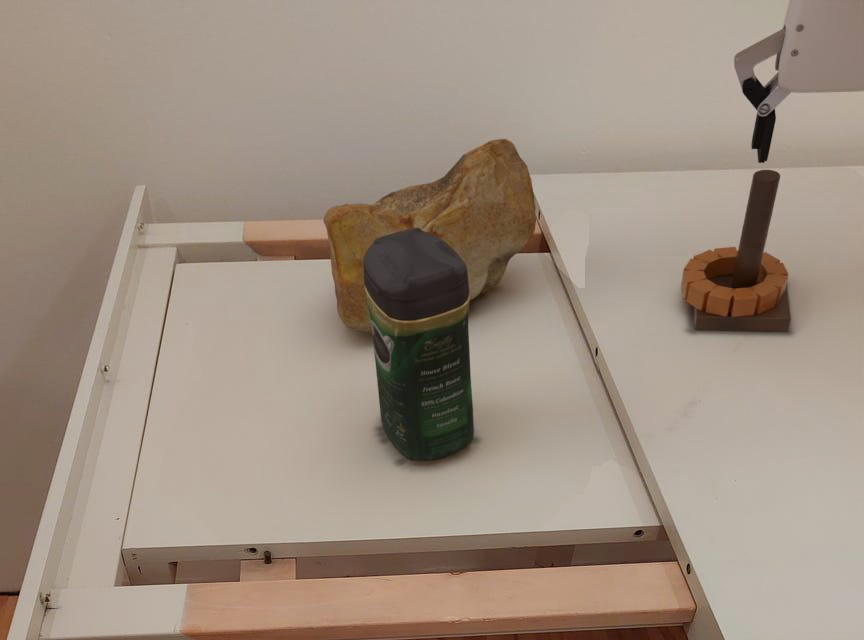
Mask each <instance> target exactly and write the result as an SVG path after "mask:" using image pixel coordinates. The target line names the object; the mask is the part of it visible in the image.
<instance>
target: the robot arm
mask: <svg viewBox="0 0 864 640" xmlns="http://www.w3.org/2000/svg"><path fill="white" fill-rule="evenodd" d="M774 56H775V63H774V69H775V71H777V73H776V74H774V76H773V77H772V78H771V79H770V80H769V81H767V83H766V84H765V85H763V84H762V83H761V82H760V80H759V78H758V77H757V76H756V74H755V71H754V68H755V67H756V66H757V65H758V64H760V63H762V62H764V61H766V60H768V59H770V58H772V57H774ZM733 66H734V70H735V73H736V76H737V79H738V83H739V84H740V88H741V91H742V94H743V95H744V96H745V98H746V99H747V100H748V102H749V103H750V104H751V105H752V106H753V107H754V109H755V110H756V116H755V122H754V126H753V131H752V137H751V144H750V145H751V147H750V148H751V150H756V153H757V162H758V164H765V163H766V162H768V160H769V159H768V158H769V154H770V149H771V144H772V139H773V136H774V135H773V134H774V131H775V125H776V120H777V115H776V108H777V107H778V106H779V105H780V104H781V103H782V102H783V101H784V100H785V99H786V98H787V97H788V96H789V95H790V94H791V93H796V94H816V93H822V94H823V93H858V92H864V0H788V5H787V9H786V13H785V15H784V20H783V24H782V28H781V29H780V30H778V31H776V32H773V33H772V34H770V35H769V36H766V37H765V38H763V39H761V40H759V41H757V42H755V43H753V44H752V45H750V46H748V47H746V48H744V49H743V50H741V51H739V52H737V53H735V55H734V56H733Z"/></svg>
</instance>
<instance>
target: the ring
mask: <svg viewBox="0 0 864 640" xmlns="http://www.w3.org/2000/svg"><path fill="white" fill-rule="evenodd" d="M737 254H738V249H737V248H736V246H727V247H716V248H715V247H714V249H713V250H712V249H708V250H706V251H703V252H700V253H697V254H695V255H693V258H690V259H689V260H688V262H687V263H686V265H685V266H684V268H683V271H682V277H681V283H680V284H681V285H680V290H681V291H680V292H681V294H682V296H683V299H684V300H686V303H687V304H688V305H691V306H692V307H693V308H694V307H695V308H697V309H699V310H700V311H702V310H705V309H706V311H705V312H706V313H710V314H715V315H720V316H725V317H727V315H728V314H729V312H730V314H731V317H740V316H752V315H754V312H756V313H757V314H760V313H762V312H764V311H767V310H769V309H771V308H773V307H775V304H778V303H779V301H780V300H781V298H782V296H783V295H784V292H785V288H786V284H787V285H788V281H789V280H788V279H789V272H788V270H787V268H786V266H785V264H784V262H781V260H780V259H779V258H777V257H775V256H773V255H771V254H769V252H765V251H764V252H763V257H762V261H761V266H760V270H759V275H758V279H757V282H759V284H757V285H755V286H752V287H748V288H736V289H733V288H728V287H723V286H718V285H716V284H714V283H713V282H711V281H709V280H708V279H710V278H713V277H715V276H717V275H727V274H734V269H735V264H736V259H737Z"/></svg>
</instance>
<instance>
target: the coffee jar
mask: <svg viewBox="0 0 864 640" xmlns="http://www.w3.org/2000/svg"><path fill="white" fill-rule="evenodd" d="M363 267H364V285H365V292H366V297H367V303H368V308H369V313H370V320H371V327H372V334H371V335H372V342H373V343H372V344H373V352H374V353H373V354H374V361H375V370H376V372H375V373H376V382H377V389H378V390H377V393H378V403H379V414H380V421H381V424H382V428H383V430H384V432H385V434H386V436H387V438H388V439H389V441H390V442H391V444H392V445H393V446H394V448H395V449H396V450H397V451H398V452H399V454H401V456H403V458H404V459H407V460H409V461H413V462H435V461H440V460H443V459H447V458H450V457H451V456H454V455H456V454H458V453H459V452H461V451H463V450H465V449H466V448H467V447H468V446H470V444H471V443H472V442H473V439H474V436H475V425H474V424H475V422H474V404H473V403H474V402H473V390H472V375H471V355H470V353H471V351H470V334H469V333H470V332H469V315H470V314H469V313H470V312H469V311H470V303H471V300H470V293H469V282H468V273H467V267H466V264H465V263H464V261H463V260H462V259H461V257H460V256H459V255H458V254H457V253H456V252H455V251H454V250H453V249H452V248H451V247H450V246H449V245H448V244H447V243H446V242H445V241H444V240H442V239H441V238H439V237H437V236H435V235H433V234H430V233H428V232H425V231H422V230H421V229H420V228H412V229H408V230H403V231H399V232H396V233H392V234H388V235H385V236H382V237H379V238H376V240H375V241H374V243H373V244H372V245H371V246H370V248H369V249H368V250H367V252H366V254H365V257H364V262H363Z"/></svg>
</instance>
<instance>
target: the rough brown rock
mask: <svg viewBox="0 0 864 640" xmlns="http://www.w3.org/2000/svg"><path fill="white" fill-rule="evenodd" d="M536 208H537V207H536V202H535V193H534V189H533V182H532V178H531V174H530V171H529V167H528V165H527V163H526V162H525V161H524V160H523V158H522V157H521V156H520V154H519V152H518V149H517V147H516V146H515V144H514V143H513V141H510V140H509V139H507V138H499V139H492V140H489V141H487V142H485V143H483V144H482V145H480V146H478V147H476V148H474V149H471V150H470V151H467V152H466V153H464V154H462V156H461V157H460V158H459V159H458V161H457V162H455V164H454V165H453V166H452V167H451V168H450V169H449V170H448V172H447V173H446V174H445V175H444V176H442V177H441V178H439V179H437V180H434V181H432V182H428V183H423V184H417V185H409V186H407V187H405V188H401V189H399V190H395V191H392V192H390V193H388V194H387V195H385V196H382V197H381V198H380V199H379V200H378V201H376V202H374V203H373V204H368V203H345V204H342V205H333V206H331V207H330V208H328V209H327V211H326V212H325V214H324V216H323V224H324V226H325V228H326V233H327V239H328V244H329V256H330V258H329V259H330V267H331V276H332V279H333V283H334V291H335V292H334V293H335V294H334V295H335V298H336V310H337V313H338V317H339V319H340V320H341V322H342V324H343V325H344V326H345V327H346V328H347V329H349V330H357V331H362V332H366V333H369V334H371V335H372V327H371V320H370V313H369V308H368V303H367V297H366V292H365V285H364V267H363V262H364V257H365V254H366V252H367V250H368V249H369V248H370V246H371V245H372V244H373V243H374V241H375V240H376V238H379V237H382V236H385V235H388V234H392V233H396V232H399V231H403V230H408V229H412V228H420V229H421V230H422V231H425V232H428V233H430V234H433V235H435V236H437V237H439V238H441V239H442V240H444V241H445V242H446V243H447V244H448V245H449V246H450V247H451V248H452V249H453V250H454V251H455V252H456V253H457V254H458V255H459V256H460V257H461V259H462V260H463V261H464V263H465V264H466V267H467V273H468V282H469V293H470V301H472V300H474V299H475V298H476V297H478V296H479V295H480V294H481V293H485V292H487V291H490V290H491V289H494V288H495V287H496V286H497V285H498V284H499V283H500V282H501V281H502V278H503V276H504V274H505V272H506V270H507V266H508V264H509V262H510V261H511V259H512V258H513V257H514V256H515V255H517V254H519V253H521V251H522V250H523V248H524V247H525V246H526V244H527V243H528V241H529V240H530V239H532V238H533V237H534V233H535V231H536V224H537V217H536Z"/></svg>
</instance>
